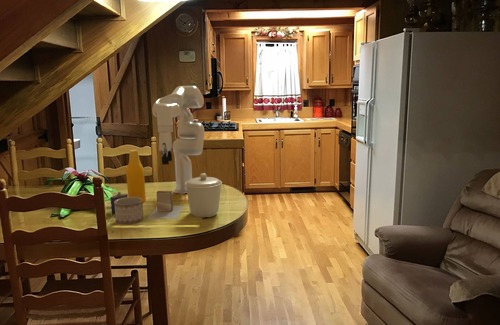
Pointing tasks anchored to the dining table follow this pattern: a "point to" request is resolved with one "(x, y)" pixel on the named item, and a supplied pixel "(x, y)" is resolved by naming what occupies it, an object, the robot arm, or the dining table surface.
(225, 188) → the dining table surface
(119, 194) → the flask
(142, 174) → the beer bottle
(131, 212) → the planter
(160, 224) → the dining table surface
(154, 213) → the board
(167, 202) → the slab
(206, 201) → the canister
